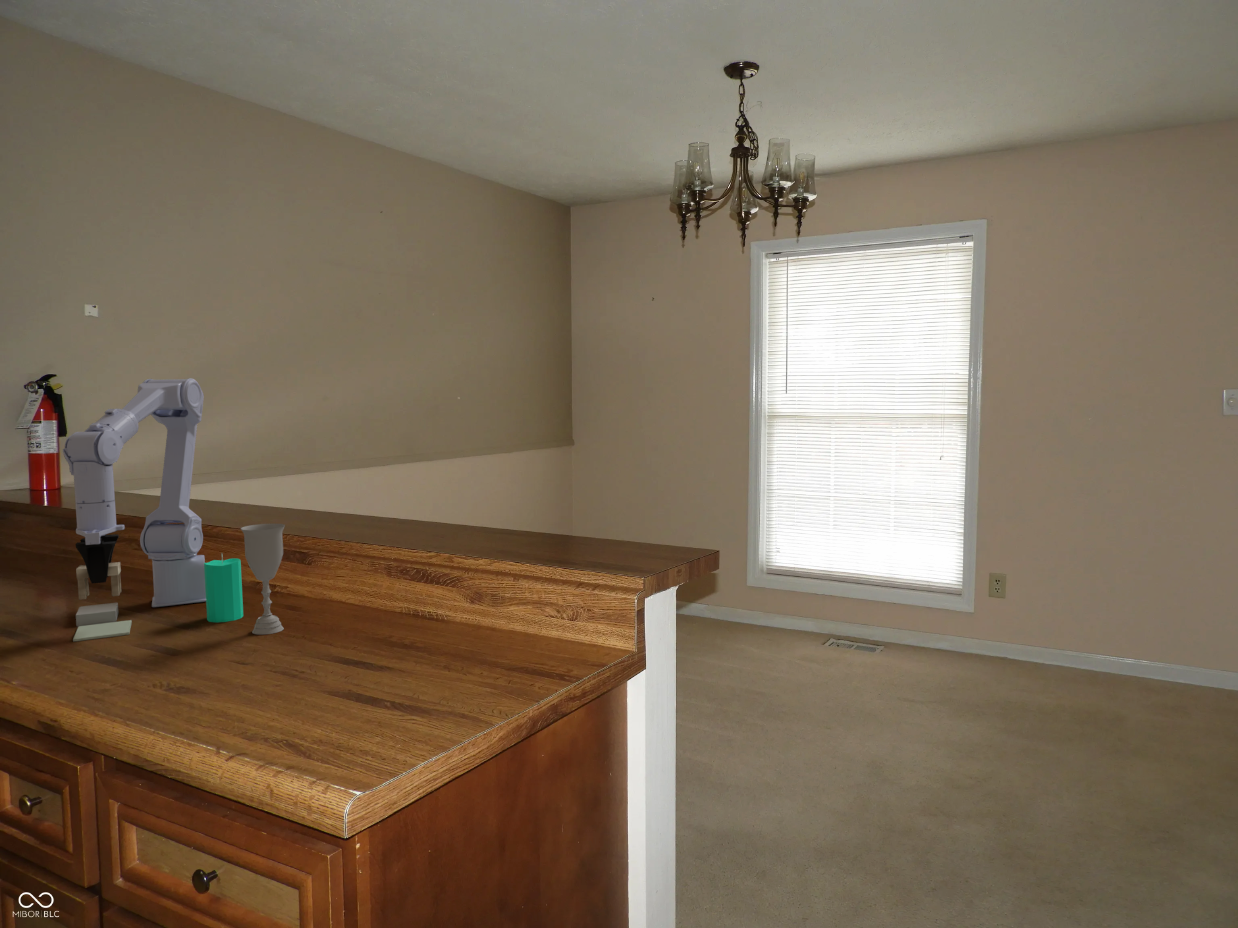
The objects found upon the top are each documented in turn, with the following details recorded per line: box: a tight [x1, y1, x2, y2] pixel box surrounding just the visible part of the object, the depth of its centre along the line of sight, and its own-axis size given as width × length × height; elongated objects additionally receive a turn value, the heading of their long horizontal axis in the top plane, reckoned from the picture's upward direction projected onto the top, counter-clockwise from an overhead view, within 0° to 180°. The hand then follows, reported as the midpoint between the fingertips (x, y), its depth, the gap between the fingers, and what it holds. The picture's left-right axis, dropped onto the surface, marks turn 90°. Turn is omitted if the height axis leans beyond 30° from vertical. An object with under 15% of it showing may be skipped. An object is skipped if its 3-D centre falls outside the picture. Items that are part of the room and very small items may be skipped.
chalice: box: [240, 523, 286, 635], centre depth 142 cm, size 7×7×18 cm
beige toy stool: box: [75, 561, 122, 600], centre depth 142 cm, size 6×4×5 cm, turn 116°
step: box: [75, 602, 119, 627], centre depth 151 cm, size 6×7×2 cm
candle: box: [204, 553, 244, 623], centre depth 150 cm, size 6×6×12 cm
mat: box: [72, 619, 133, 642], centre depth 143 cm, size 8×9×1 cm
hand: (100, 580), depth 142 cm, fingers closed on beige toy stool, 4 cm apart
